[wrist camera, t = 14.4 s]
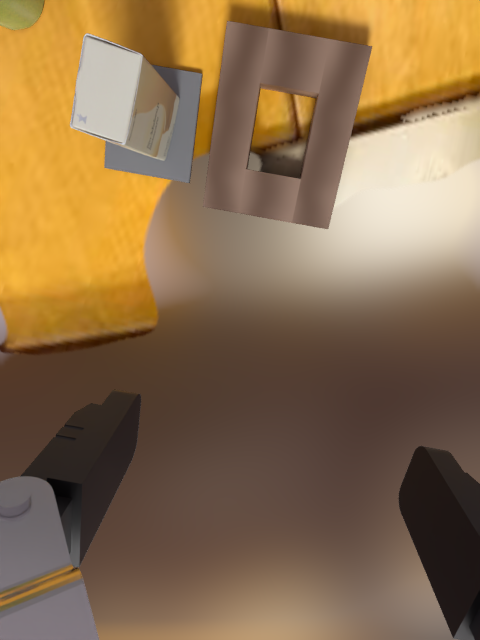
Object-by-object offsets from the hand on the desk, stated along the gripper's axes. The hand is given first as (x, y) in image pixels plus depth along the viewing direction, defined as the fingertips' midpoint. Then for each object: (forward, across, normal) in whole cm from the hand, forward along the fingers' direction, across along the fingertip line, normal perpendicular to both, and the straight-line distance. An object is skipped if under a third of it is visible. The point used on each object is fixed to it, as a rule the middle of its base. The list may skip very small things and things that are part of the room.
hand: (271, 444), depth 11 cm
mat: (+33, +14, -11) cm, 38 cm away
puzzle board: (+33, +1, -12) cm, 35 cm away
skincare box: (+33, +14, -11) cm, 37 cm away
